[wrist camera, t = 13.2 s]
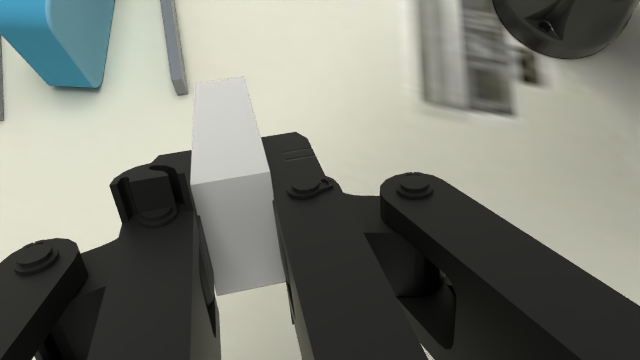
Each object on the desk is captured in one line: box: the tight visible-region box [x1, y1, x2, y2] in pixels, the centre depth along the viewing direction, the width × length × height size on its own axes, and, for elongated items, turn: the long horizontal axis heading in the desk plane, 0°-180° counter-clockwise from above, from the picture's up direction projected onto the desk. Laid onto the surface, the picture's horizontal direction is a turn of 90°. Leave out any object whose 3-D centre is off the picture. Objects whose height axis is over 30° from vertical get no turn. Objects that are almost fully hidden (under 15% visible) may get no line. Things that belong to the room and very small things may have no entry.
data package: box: [0, 0, 115, 88], centre depth 43 cm, size 12×4×12 cm, turn 0°
